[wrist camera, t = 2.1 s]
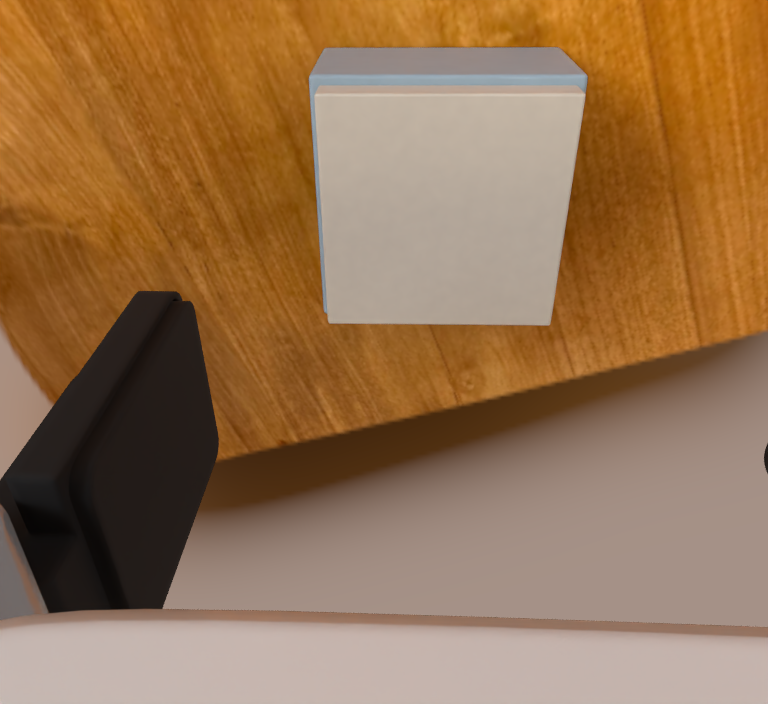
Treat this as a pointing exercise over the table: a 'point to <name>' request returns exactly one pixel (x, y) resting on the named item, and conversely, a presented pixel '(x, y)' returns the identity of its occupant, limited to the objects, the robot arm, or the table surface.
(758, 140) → the table surface
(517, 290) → the upper pad
